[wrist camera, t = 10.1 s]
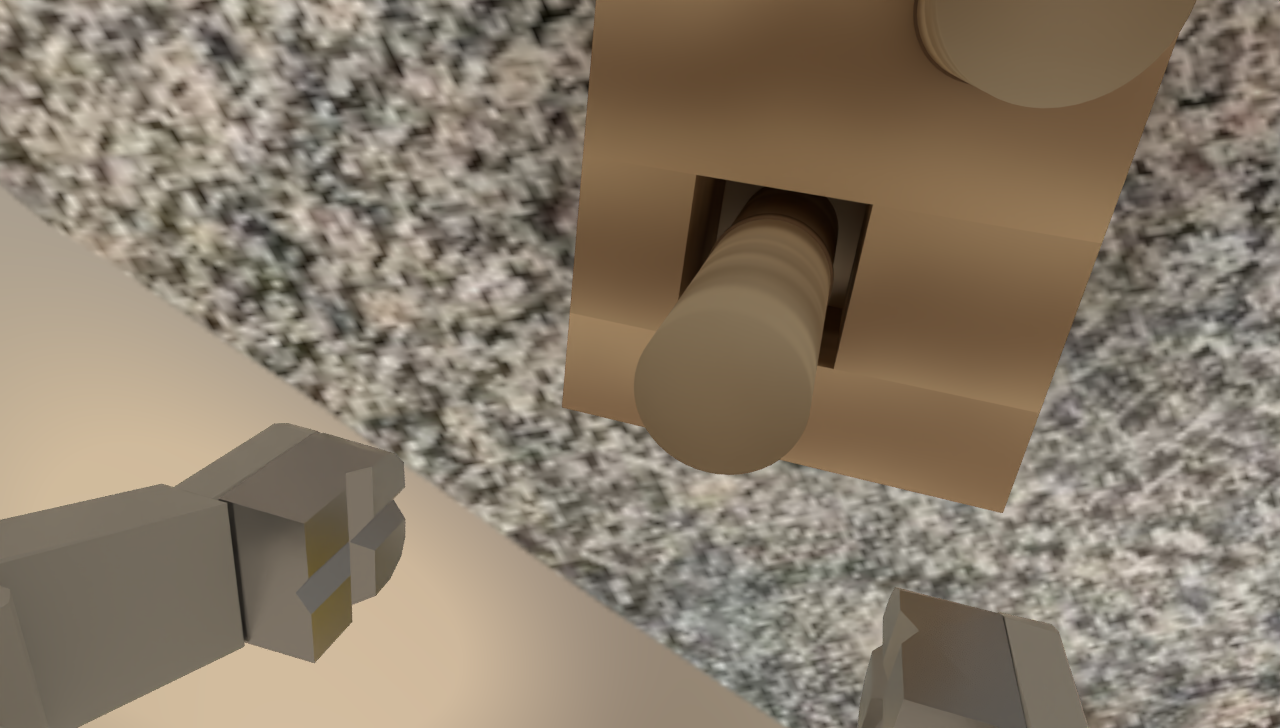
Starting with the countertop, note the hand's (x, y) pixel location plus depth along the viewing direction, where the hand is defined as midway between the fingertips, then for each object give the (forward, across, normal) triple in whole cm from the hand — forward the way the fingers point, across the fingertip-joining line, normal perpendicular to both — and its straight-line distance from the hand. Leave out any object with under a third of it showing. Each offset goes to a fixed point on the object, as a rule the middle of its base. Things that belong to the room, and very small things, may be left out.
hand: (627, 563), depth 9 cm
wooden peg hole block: (+19, -1, -2) cm, 19 cm away
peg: (+17, 0, 0) cm, 17 cm away
